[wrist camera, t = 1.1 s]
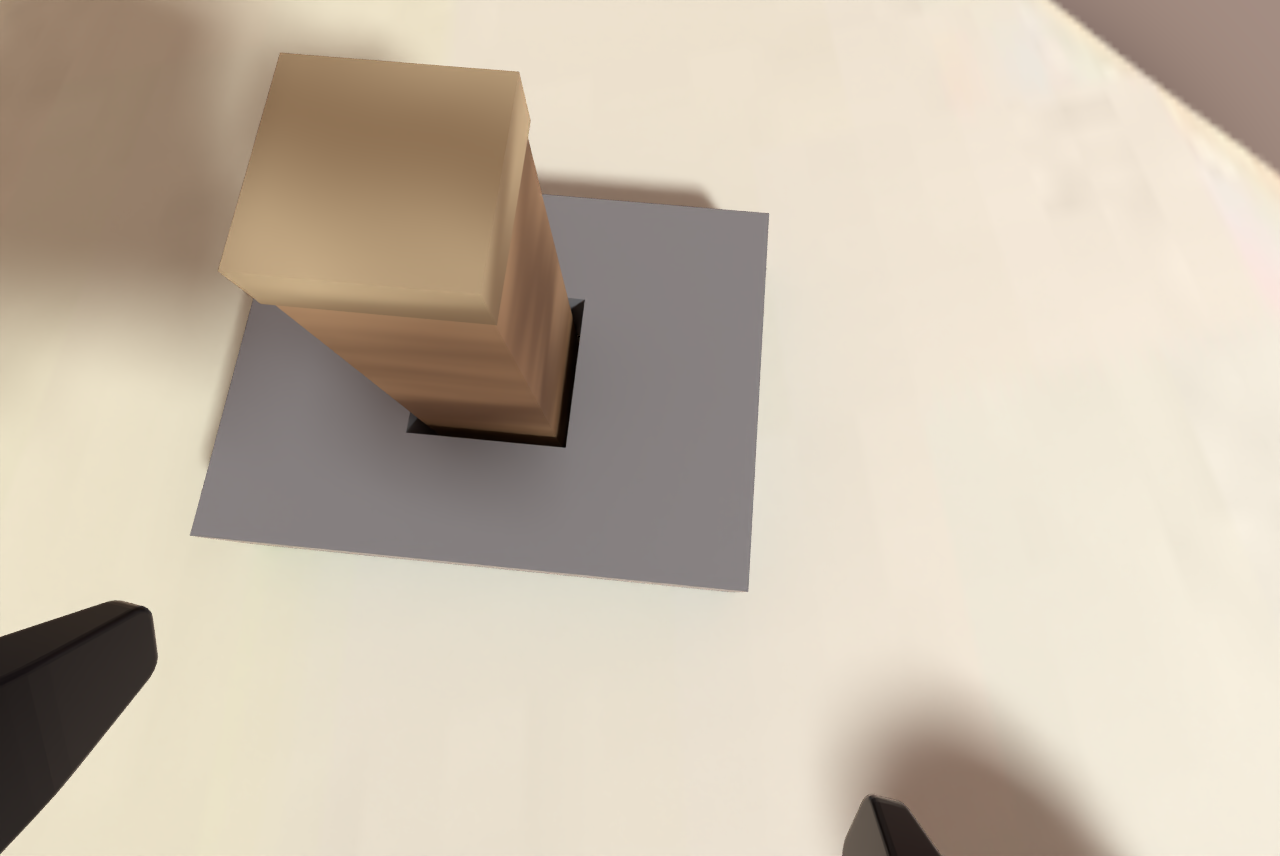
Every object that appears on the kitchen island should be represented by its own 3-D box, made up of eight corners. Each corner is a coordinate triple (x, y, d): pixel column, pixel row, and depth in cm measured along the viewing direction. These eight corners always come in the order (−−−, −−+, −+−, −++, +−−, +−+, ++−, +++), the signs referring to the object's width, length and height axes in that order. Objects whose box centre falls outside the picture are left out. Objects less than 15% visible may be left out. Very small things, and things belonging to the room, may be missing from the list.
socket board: (733, 592, 21) (748, 591, 18) (250, 543, 22) (190, 535, 19) (753, 259, 24) (769, 213, 21) (329, 222, 25) (287, 172, 22)
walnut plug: (568, 457, 22) (480, 294, 10) (447, 446, 22) (218, 271, 10) (582, 343, 23) (519, 71, 11) (466, 332, 23) (280, 52, 11)
